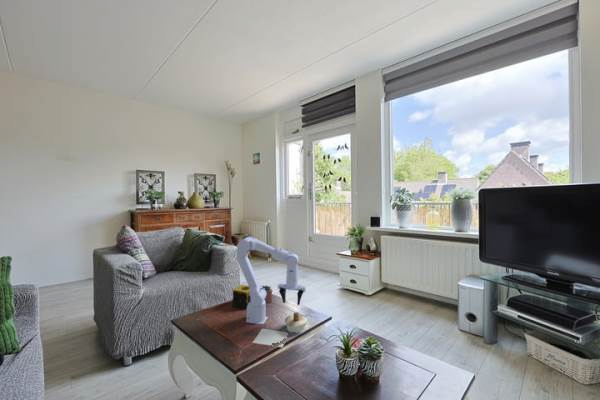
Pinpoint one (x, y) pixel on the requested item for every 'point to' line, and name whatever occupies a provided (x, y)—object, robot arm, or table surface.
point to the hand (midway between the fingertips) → (291, 303)
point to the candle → (241, 297)
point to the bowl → (295, 328)
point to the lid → (296, 320)
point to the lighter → (268, 294)
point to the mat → (270, 337)
